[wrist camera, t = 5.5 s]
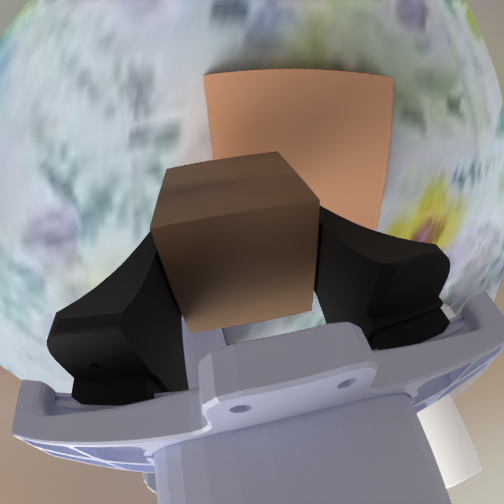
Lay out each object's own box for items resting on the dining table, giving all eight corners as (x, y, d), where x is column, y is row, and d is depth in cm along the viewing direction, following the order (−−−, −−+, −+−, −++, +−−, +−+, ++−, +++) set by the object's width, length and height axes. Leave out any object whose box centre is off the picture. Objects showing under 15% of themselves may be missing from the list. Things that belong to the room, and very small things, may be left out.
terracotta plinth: (360, 210, 23) (376, 228, 21) (224, 230, 22) (227, 252, 20) (370, 74, 16) (393, 77, 13) (203, 75, 15) (203, 75, 12)
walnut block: (281, 241, 15) (311, 310, 11) (189, 256, 15) (189, 333, 11) (277, 151, 12) (319, 200, 8) (166, 169, 11) (149, 228, 8)
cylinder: (384, 372, 49) (430, 482, 27) (361, 350, 39) (424, 502, 17) (450, 326, 44) (508, 431, 22) (448, 288, 35) (533, 428, 13)
